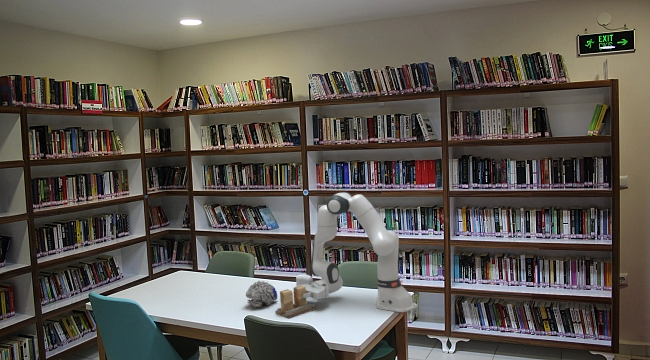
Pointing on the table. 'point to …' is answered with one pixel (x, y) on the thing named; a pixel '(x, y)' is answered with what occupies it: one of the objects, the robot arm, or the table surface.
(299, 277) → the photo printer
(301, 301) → the wooden block
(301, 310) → the wooden block stand
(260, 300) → the educational model
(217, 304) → the table surface
